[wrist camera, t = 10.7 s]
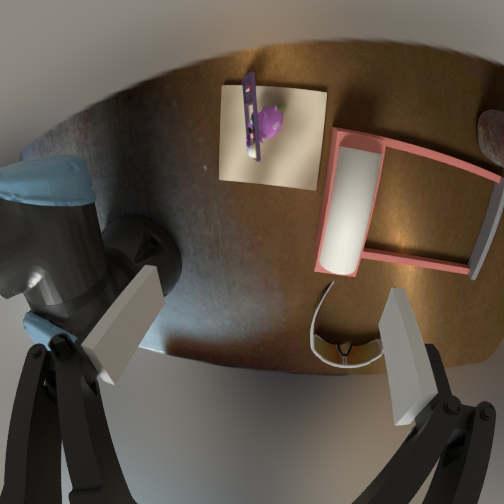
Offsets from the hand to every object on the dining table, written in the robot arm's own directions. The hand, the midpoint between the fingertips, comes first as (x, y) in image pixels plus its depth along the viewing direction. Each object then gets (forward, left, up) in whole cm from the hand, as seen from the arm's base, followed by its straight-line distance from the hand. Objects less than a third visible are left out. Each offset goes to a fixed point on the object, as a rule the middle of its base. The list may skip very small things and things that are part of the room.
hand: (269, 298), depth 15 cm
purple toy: (-4, +8, -21) cm, 23 cm away
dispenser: (+17, 0, -22) cm, 28 cm away
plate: (-3, +6, -22) cm, 23 cm away
